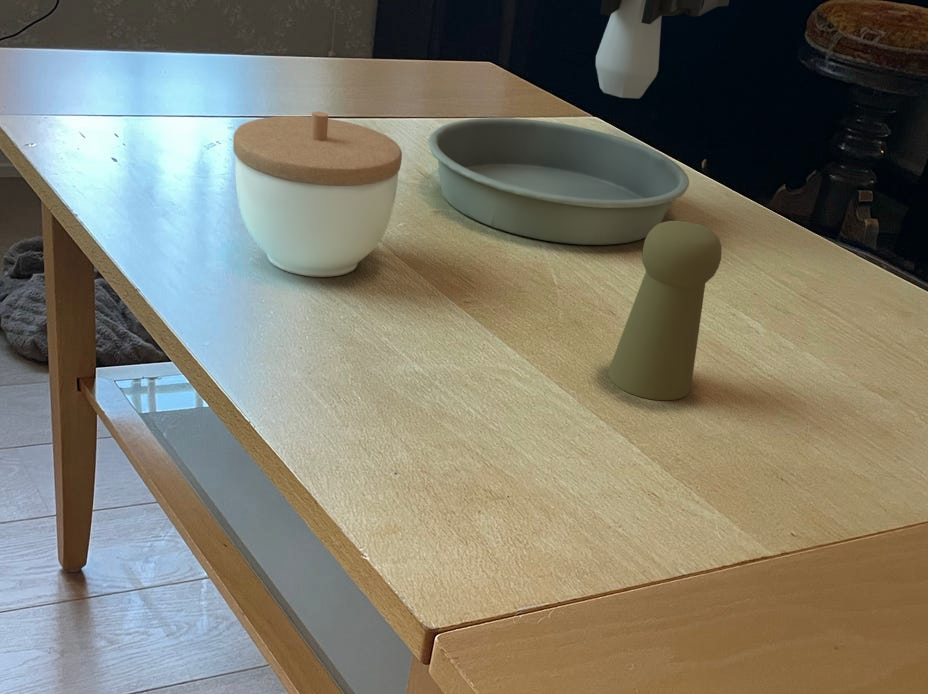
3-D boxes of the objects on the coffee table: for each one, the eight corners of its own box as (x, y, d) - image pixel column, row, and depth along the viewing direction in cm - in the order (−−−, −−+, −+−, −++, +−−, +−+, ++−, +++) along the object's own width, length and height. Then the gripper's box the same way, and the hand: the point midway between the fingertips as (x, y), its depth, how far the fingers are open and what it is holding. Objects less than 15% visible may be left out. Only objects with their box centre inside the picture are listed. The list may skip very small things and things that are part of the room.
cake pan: (731, 238, 110) (744, 189, 107) (528, 267, 97) (537, 213, 94) (568, 155, 124) (576, 110, 121) (374, 170, 112) (378, 121, 109)
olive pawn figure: (708, 392, 83) (753, 239, 76) (646, 406, 79) (686, 248, 73) (652, 356, 86) (689, 207, 79) (590, 368, 83) (624, 215, 76)
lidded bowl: (218, 230, 95) (218, 86, 88) (365, 230, 99) (376, 92, 92) (251, 293, 86) (254, 138, 79) (411, 289, 90) (427, 142, 83)
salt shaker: (597, 97, 104) (629, -70, 96) (584, 80, 108) (614, -81, 100) (659, 104, 105) (696, -61, 97) (644, 87, 109) (678, -72, 101)
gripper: (745, 26, 116) (709, 69, 98) (592, -5, 119) (530, 31, 101) (767, -60, 112) (734, -31, 94) (607, -90, 115) (545, -68, 97)
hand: (628, 1), depth 98 cm, fingers closed on salt shaker, 3 cm apart
